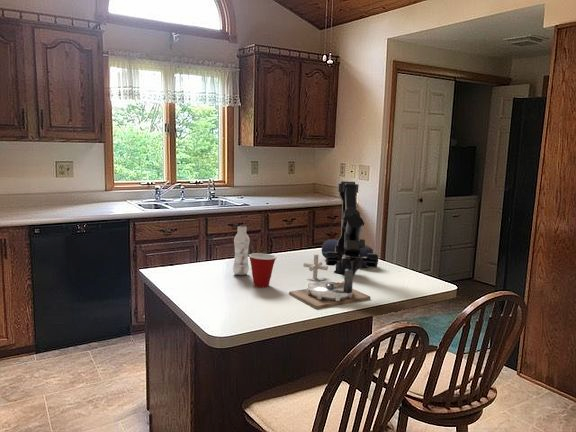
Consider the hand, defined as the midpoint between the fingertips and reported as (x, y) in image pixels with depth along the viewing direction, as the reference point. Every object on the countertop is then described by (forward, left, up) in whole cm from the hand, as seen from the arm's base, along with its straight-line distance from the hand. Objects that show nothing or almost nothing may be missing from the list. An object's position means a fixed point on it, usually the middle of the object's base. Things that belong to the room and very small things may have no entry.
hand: (351, 279), depth 171 cm
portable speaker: (-25, +48, -8) cm, 54 cm away
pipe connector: (-23, +15, -7) cm, 29 cm away
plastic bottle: (-49, -1, -7) cm, 50 cm away
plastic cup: (-34, -7, -7) cm, 36 cm away
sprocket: (-7, -2, -6) cm, 10 cm away
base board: (-7, -2, -7) cm, 11 cm away
